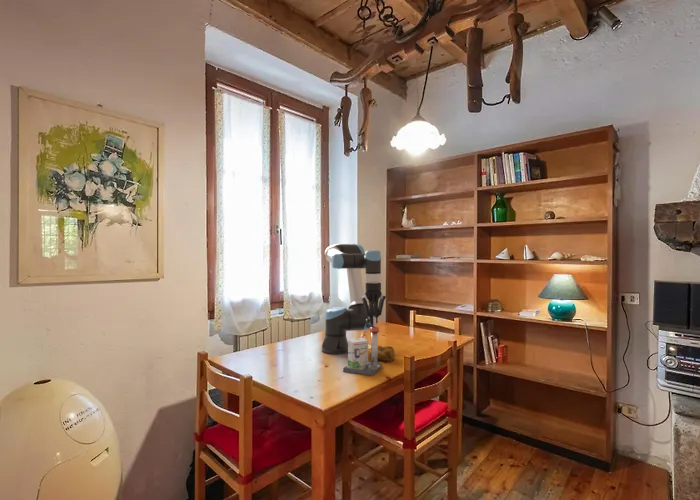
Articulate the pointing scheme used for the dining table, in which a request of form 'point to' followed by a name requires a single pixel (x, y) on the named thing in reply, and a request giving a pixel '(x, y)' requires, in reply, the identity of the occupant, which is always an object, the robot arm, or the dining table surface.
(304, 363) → the dining table surface
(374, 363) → the stand
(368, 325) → the lever
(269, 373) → the dining table surface
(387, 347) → the bread roll
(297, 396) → the dining table surface
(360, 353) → the ink box
